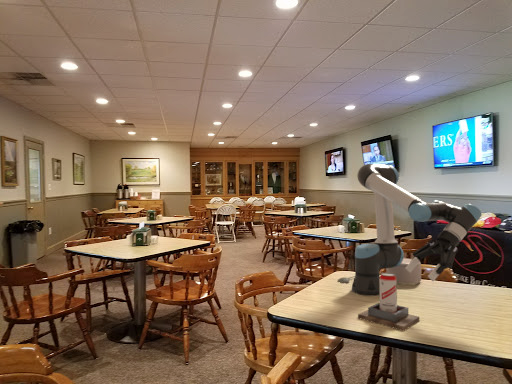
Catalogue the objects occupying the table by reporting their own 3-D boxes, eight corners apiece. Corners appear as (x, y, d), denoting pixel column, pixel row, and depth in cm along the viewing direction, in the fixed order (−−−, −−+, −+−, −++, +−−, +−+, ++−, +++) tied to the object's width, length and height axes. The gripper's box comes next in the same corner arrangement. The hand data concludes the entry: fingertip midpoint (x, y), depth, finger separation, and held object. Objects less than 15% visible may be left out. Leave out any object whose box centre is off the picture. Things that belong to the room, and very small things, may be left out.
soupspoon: (334, 284, 193) (345, 286, 188) (334, 278, 192) (345, 280, 188) (356, 276, 207) (366, 278, 202) (356, 270, 207) (366, 272, 202)
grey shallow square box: (368, 315, 134) (368, 307, 134) (381, 308, 141) (381, 301, 141) (395, 322, 126) (395, 314, 126) (408, 315, 133) (408, 307, 133)
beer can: (398, 318, 130) (397, 276, 130) (381, 317, 131) (380, 275, 131) (395, 313, 136) (394, 272, 136) (378, 312, 137) (378, 272, 138)
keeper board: (358, 318, 135) (358, 314, 135) (375, 309, 145) (375, 306, 145) (403, 330, 122) (403, 326, 122) (419, 320, 132) (419, 316, 132)
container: (418, 287, 180) (418, 264, 180) (383, 282, 190) (382, 261, 190) (423, 280, 195) (423, 259, 195) (390, 276, 205) (389, 256, 205)
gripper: (482, 247, 128) (447, 289, 126) (435, 237, 153) (405, 273, 150) (470, 233, 127) (434, 276, 125) (424, 226, 152) (394, 261, 149)
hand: (418, 274), depth 137 cm, fingers open, 13 cm apart
